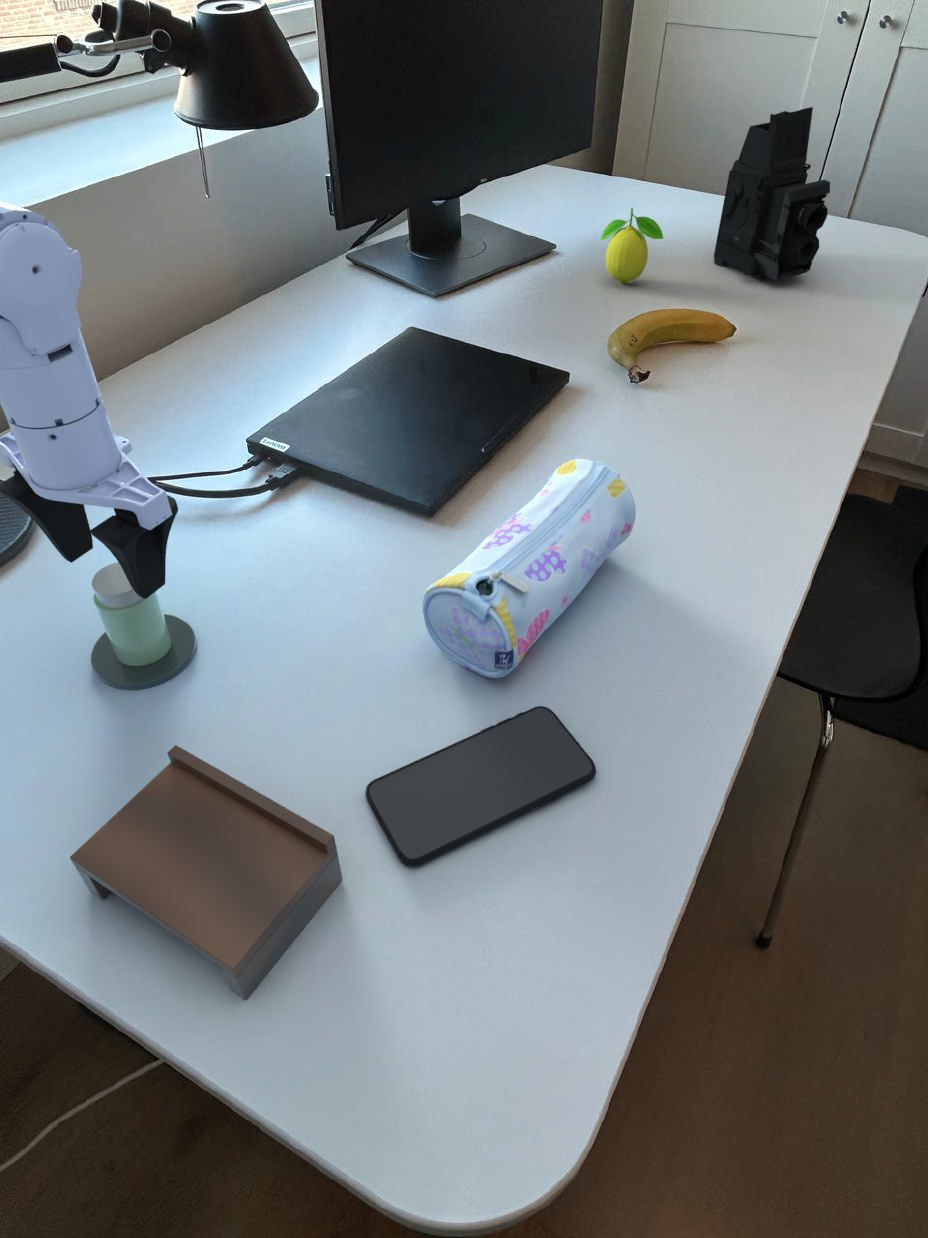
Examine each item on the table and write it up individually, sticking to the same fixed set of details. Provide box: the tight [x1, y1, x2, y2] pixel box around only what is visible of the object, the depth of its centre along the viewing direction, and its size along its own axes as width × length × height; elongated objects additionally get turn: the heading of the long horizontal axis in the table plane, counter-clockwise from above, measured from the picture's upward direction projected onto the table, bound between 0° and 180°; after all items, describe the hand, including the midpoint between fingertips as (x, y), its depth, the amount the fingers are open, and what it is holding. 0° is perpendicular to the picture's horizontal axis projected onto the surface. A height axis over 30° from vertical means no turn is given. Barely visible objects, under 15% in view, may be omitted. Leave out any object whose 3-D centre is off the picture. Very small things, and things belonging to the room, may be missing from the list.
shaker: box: [91, 561, 172, 666], centre depth 67 cm, size 4×4×7 cm
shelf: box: [69, 744, 343, 1001], centre depth 53 cm, size 9×13×5 cm
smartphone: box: [365, 705, 597, 868], centre depth 60 cm, size 7×1×15 cm
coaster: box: [90, 612, 197, 690], centre depth 70 cm, size 8×8×1 cm
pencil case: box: [422, 458, 637, 679], centre depth 70 cm, size 21×9×10 cm, turn 145°
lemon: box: [599, 207, 664, 285], centre depth 117 cm, size 7×6×10 cm
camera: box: [713, 106, 831, 282], centre depth 116 cm, size 10×14×20 cm
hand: (115, 571), depth 64 cm, fingers open, 7 cm apart
